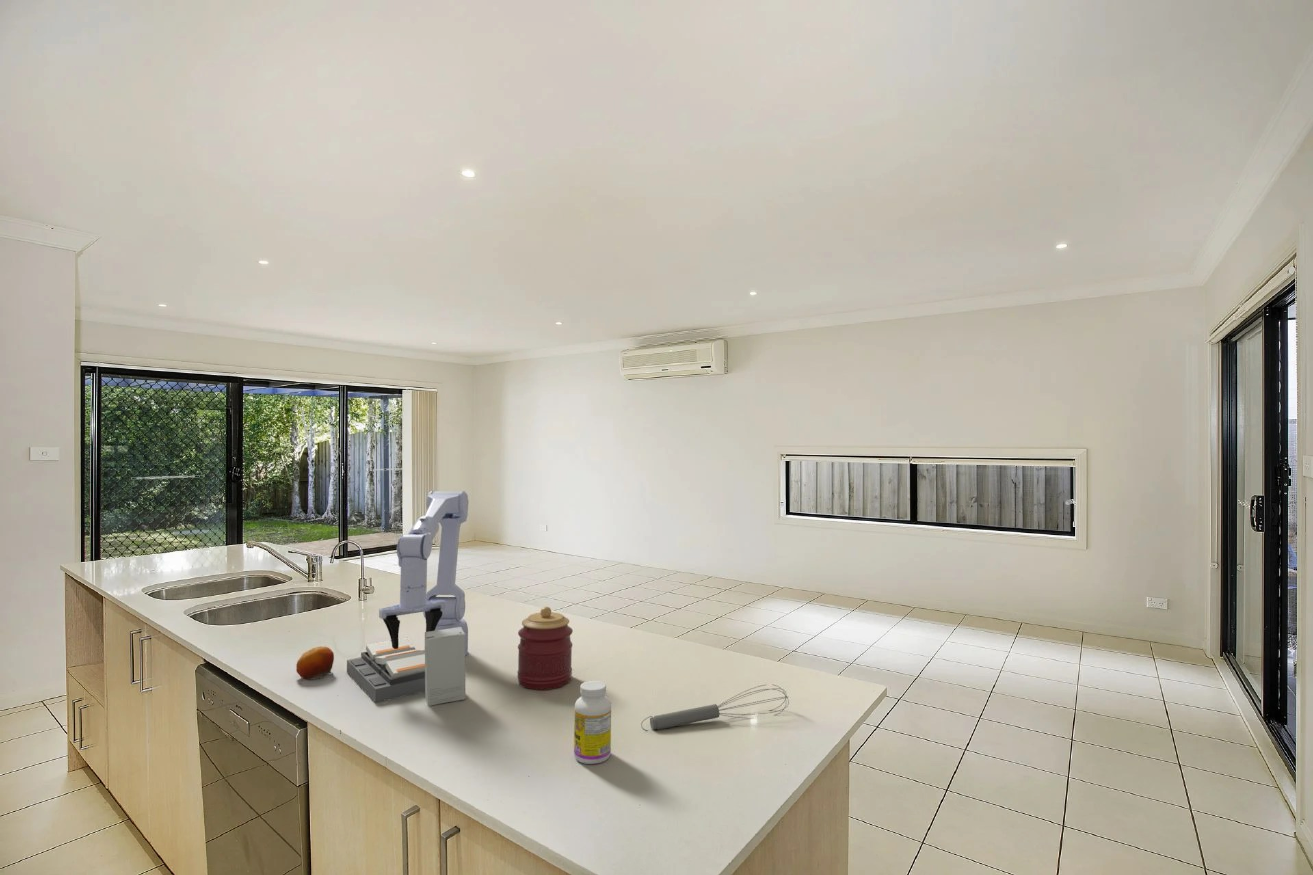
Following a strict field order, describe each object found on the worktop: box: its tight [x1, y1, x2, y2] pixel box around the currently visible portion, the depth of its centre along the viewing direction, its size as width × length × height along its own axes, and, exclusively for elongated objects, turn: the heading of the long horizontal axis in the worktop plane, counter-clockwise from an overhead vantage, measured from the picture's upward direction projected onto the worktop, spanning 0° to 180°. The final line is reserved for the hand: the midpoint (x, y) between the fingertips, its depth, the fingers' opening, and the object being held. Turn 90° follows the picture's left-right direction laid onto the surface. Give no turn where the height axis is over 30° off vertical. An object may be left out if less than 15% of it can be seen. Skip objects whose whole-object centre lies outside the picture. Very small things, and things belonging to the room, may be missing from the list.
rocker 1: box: [365, 636, 415, 660], centre depth 155 cm, size 10×6×2 cm, turn 130°
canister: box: [516, 606, 573, 691], centre depth 148 cm, size 13×13×18 cm
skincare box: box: [424, 627, 466, 707], centre depth 137 cm, size 8×6×15 cm
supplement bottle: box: [573, 680, 612, 765], centre depth 112 cm, size 7×7×13 cm
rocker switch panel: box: [346, 647, 425, 704], centre depth 149 cm, size 15×28×4 cm, turn 40°
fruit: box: [295, 646, 335, 680], centre depth 149 cm, size 8×8×8 cm
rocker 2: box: [386, 654, 425, 679], centre depth 143 cm, size 10×6×2 cm, turn 130°
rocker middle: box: [375, 648, 425, 665], centre depth 149 cm, size 10×6×2 cm, turn 130°
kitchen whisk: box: [640, 684, 790, 732], centre depth 127 cm, size 6×33×6 cm, turn 108°
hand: (412, 644), depth 143 cm, fingers open, 7 cm apart
